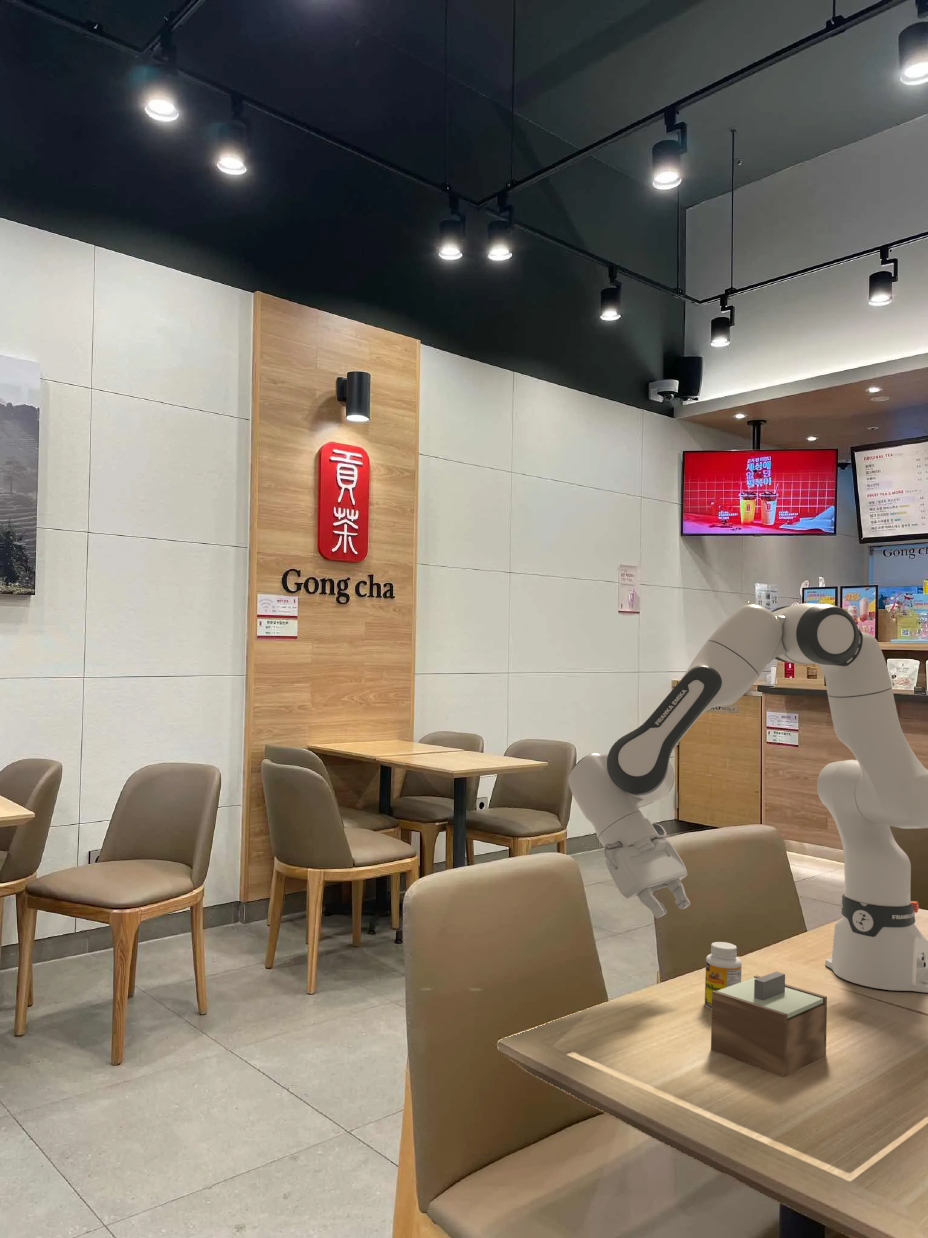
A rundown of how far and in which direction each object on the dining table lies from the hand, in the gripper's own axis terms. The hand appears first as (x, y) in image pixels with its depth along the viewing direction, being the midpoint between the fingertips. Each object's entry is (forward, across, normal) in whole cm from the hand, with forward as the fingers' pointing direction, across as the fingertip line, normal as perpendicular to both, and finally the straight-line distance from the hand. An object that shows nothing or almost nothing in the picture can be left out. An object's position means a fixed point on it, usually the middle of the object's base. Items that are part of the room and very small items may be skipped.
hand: (674, 911), depth 152 cm
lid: (+18, -13, -12) cm, 25 cm away
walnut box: (+24, -13, -6) cm, 28 cm away
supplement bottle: (+16, 0, +2) cm, 17 cm away
